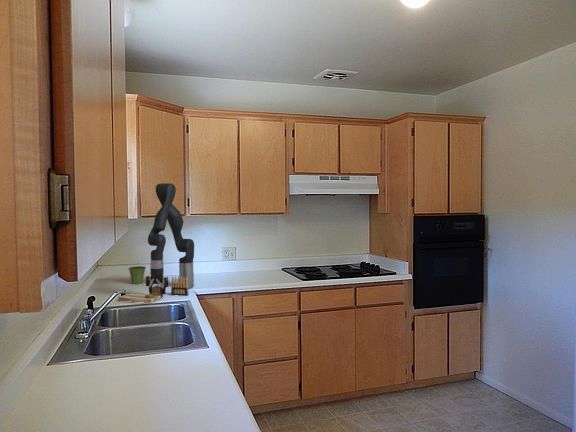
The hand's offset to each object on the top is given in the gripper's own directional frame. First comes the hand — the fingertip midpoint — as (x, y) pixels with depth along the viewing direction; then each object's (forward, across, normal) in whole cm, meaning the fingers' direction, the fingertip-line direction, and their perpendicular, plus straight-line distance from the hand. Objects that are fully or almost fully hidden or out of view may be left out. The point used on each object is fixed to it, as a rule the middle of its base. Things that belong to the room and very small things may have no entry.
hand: (157, 293), depth 240 cm
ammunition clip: (+3, -9, -11) cm, 14 cm away
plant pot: (+3, +39, -34) cm, 52 cm away
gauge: (+3, 0, +4) cm, 5 cm away
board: (+3, +7, +7) cm, 10 cm away
